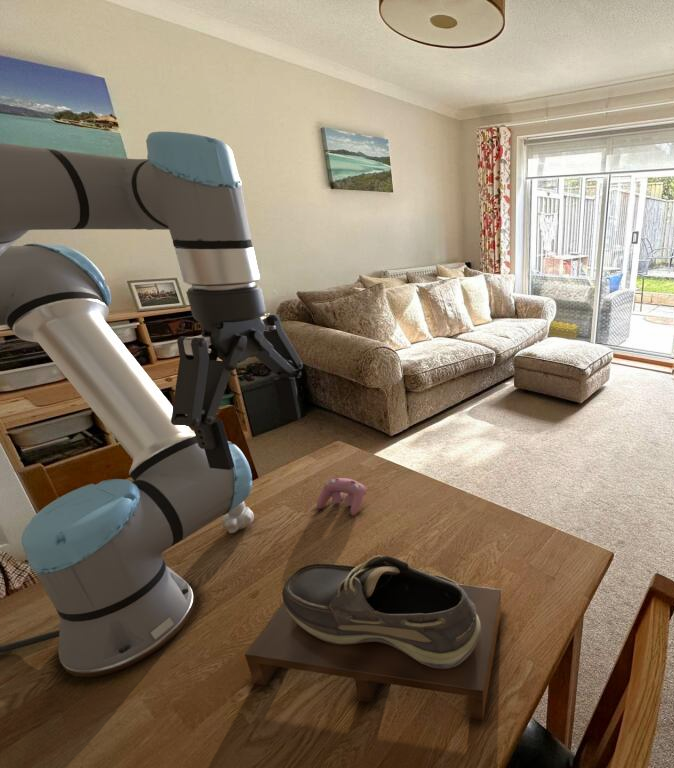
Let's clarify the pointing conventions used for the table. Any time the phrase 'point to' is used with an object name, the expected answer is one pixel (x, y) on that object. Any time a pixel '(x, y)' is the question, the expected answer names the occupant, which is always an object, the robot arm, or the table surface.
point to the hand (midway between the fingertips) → (260, 440)
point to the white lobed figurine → (238, 518)
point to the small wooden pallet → (380, 657)
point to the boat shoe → (385, 609)
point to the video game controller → (336, 489)
